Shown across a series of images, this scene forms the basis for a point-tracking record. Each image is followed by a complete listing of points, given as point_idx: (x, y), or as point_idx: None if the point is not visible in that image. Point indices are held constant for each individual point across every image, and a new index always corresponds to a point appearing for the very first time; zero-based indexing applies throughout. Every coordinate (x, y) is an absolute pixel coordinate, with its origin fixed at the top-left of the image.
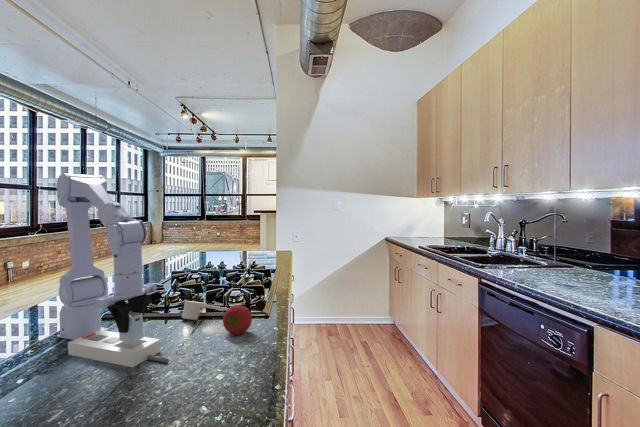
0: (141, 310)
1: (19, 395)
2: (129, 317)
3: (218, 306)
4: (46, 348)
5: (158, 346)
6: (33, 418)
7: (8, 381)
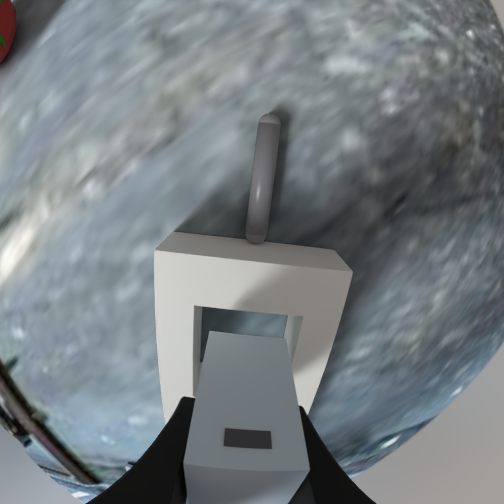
0: (171, 487)
1: (446, 396)
2: (301, 479)
3: None
4: None
5: (178, 241)
6: None
7: (389, 452)
